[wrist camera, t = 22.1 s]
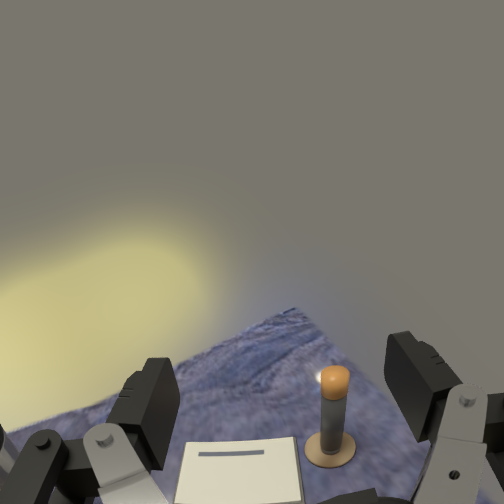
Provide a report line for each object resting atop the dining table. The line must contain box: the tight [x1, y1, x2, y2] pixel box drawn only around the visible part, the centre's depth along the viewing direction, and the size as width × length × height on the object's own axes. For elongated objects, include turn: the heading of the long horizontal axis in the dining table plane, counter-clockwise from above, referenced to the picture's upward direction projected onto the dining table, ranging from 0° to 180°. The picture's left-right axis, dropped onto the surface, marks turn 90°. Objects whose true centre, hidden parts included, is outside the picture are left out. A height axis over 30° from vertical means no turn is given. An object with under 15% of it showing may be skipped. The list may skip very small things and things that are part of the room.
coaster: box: [305, 432, 356, 468], centre depth 37 cm, size 7×7×1 cm
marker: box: [320, 366, 349, 455], centre depth 35 cm, size 3×3×14 cm
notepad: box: [173, 437, 305, 504], centre depth 35 cm, size 16×12×1 cm
